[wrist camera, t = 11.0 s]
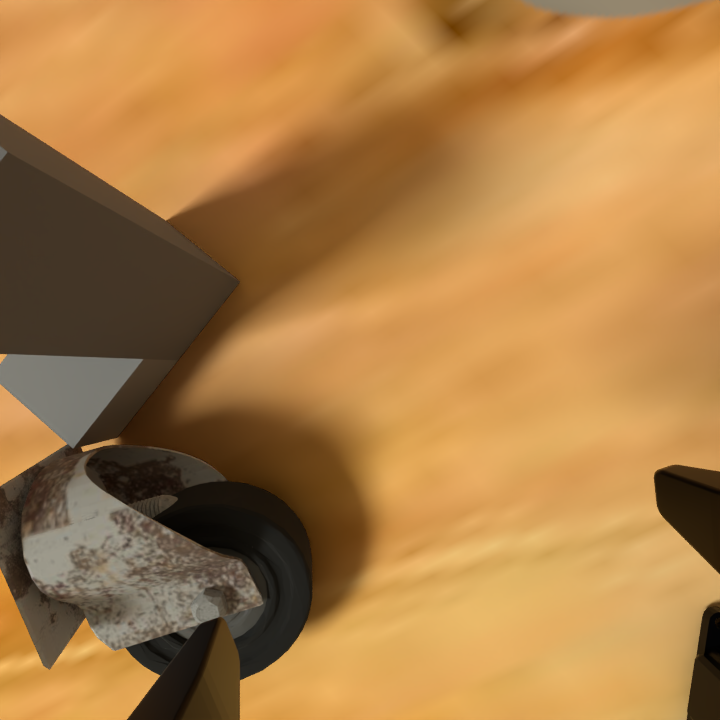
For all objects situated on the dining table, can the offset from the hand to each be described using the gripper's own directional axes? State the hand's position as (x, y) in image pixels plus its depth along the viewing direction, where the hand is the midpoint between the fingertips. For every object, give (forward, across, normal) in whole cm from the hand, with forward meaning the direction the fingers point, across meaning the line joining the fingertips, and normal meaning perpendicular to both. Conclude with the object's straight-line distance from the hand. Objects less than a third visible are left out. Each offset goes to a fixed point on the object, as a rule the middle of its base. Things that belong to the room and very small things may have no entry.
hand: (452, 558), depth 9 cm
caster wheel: (+13, +9, +5) cm, 17 cm away
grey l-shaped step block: (+16, +10, -5) cm, 19 cm away
